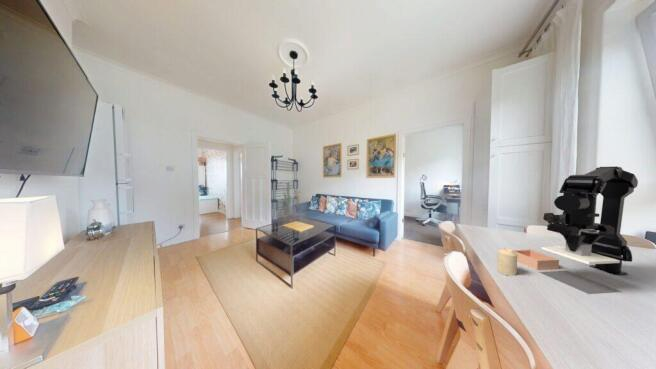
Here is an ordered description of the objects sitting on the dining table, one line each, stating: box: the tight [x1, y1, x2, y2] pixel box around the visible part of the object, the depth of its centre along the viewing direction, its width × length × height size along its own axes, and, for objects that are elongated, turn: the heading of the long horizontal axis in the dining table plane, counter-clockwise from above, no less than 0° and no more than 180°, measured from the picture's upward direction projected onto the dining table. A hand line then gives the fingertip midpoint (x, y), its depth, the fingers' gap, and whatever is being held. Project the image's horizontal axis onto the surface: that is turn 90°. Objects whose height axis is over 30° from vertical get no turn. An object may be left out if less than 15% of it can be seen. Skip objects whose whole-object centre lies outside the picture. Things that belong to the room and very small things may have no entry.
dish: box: [511, 249, 560, 271], centre depth 78 cm, size 10×10×4 cm
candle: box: [496, 247, 518, 277], centre depth 71 cm, size 6×6×10 cm
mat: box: [538, 270, 623, 295], centre depth 65 cm, size 13×13×1 cm
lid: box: [541, 241, 620, 265], centre depth 64 cm, size 12×12×5 cm
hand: (577, 251), depth 64 cm, fingers closed on lid, 4 cm apart
